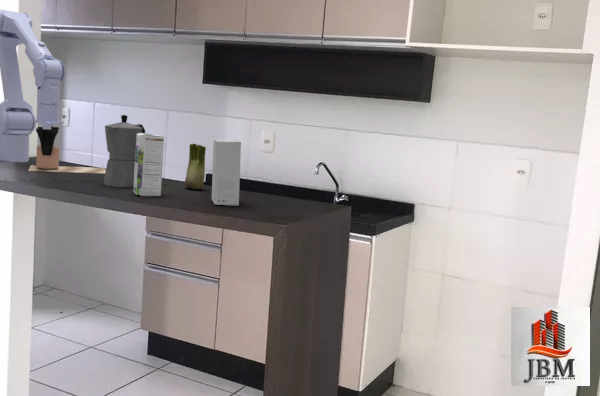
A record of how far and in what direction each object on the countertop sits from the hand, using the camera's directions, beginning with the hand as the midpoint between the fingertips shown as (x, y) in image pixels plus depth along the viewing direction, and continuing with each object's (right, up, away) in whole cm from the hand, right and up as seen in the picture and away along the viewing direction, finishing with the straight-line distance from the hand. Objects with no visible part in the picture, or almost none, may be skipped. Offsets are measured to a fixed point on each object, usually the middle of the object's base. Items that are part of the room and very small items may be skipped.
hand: (47, 153), depth 171 cm
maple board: (+5, -5, +3) cm, 7 cm away
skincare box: (+52, -14, -25) cm, 59 cm away
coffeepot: (+24, -9, -10) cm, 28 cm away
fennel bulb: (+42, -10, -8) cm, 44 cm away
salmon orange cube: (0, -4, +1) cm, 4 cm away
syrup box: (+33, -12, -22) cm, 42 cm away
